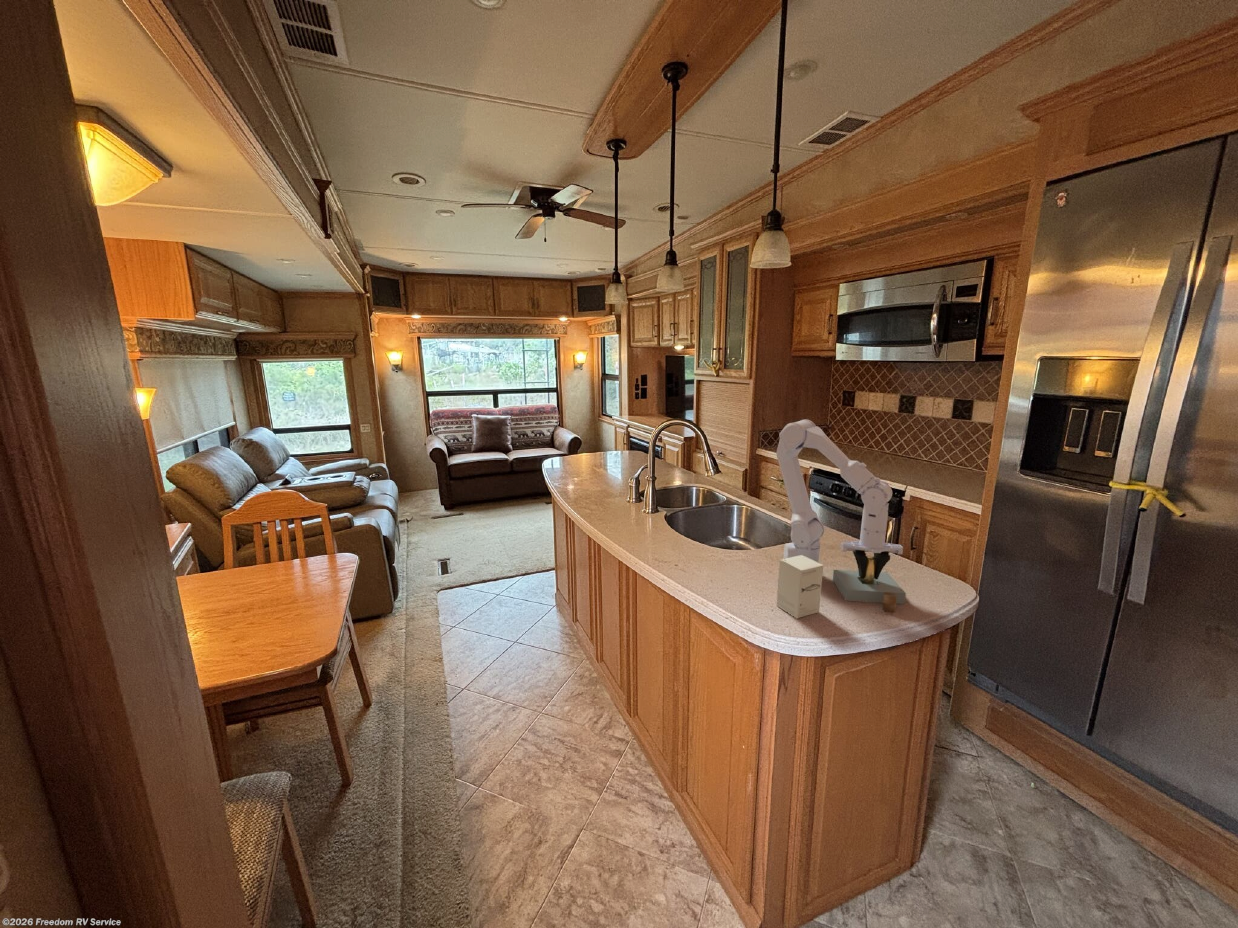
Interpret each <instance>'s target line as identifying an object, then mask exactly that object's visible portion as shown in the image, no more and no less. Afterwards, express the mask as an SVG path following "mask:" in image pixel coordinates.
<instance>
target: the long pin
mask: <svg viewBox="0 0 1238 928" xmlns="http://www.w3.org/2000/svg"><path fill="white" fill-rule="evenodd" d="M866 556H867V557H868V559H867V563H866V567H865V577H864V579H862V584H873V585H874V578H875V569H876V560H877V558H875V557H874V555H866Z"/></svg>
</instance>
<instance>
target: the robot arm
mask: <svg viewBox="0 0 1238 928" xmlns="http://www.w3.org/2000/svg"><path fill="white" fill-rule="evenodd" d="M778 435H779V436H778V437H779V440H778V441H779V442H778V445H777V448H776V458H777V461H778V464H779V465H778V466H779V469H780V472H781V476H782V480H783V484H784V487H785V491H786V495H787V497H788V502H789V506H790V510H791V513H792V515H791V519H790V523H789V524H790V528H791V531H790V539H791V541H792V542H789V543H788V542H787V543H784V546H783V547H784V548H783V558H782V559H786V558H790V557H795V556H799V555H803V556H805V557H807V558H809V559H811V560H814V561H816V562H818V563H820V553H821V542H820V538H822V537H823V535H824V534H825V527H824V524H823V523H822V521H820V519H819V517H818V513H817V512H816V511H814V510H813V508H812V504H811V501H810V497H809V494H808V490H807V487H806V483H805V482H806V481H805V480H804V479H805V478H804V476H803V475H804V474H803V471H802V468H801V463H800V461H799V457H798V455H799V454H800V452H801V451H802V449H804V448H808V449H815V450H818V452H819V453H821V454H822V455H824V456H825V457H826V458H827V459H828V460H829V461H830V462H831V463H833V464H834V466H836V467H837V468H838V469H839V472H840V477H841V478H842V479H843V480H844V481H845V482H846V483H848V485H849V486H850V487H852V488H853V489H854V490H855V491H856V492H857V493H858V494H859V495H860V496H861V497H860V499H861V502H862V503H863V504H864V505H863V510H862V518H861V525H860V526H861V527H860V536H859V540H856V541H855V540H854V541H841V542H840V543H841V544H840V550H841V551H842V552H845V553H847V552H852V554H853V555H854V558H855V561H856V565H857V568H858V570H857V571H859V576H860V578H861V579H864V577H865V567H866V563H867V559H868V557H867V556H868V555H867V553H872V554H873V557H875V558H877V560H876V569H875V579H878V577H879V575H880V573H881V572H883V568H884V567H885V566H886V565H887V564H888V562H890V560H891V555H890V554H897V555H903V554H904V553H903V552H904V547H903V546H902V545H901V544H895V543H889V542H886V536H887V535H886V534H887V526H888V518H889V512H888V511H889V505H890V503H888V502H889V501H890V500H891V499H892V497H893V490H892V487H891V486H890V485H889V483H888V482H886V481H883V480H882V479H881V478H880V477H876V476H875V475H874V474H873V473H872V472H871V471H869V470H868V469H867V468H866V467H867V466H868V465H867V464H865V462H860V461H859V460H853V459H852V460H851V459H850V458H849V457H848V456H847V455H846V454H845V453H844V452H843V451H842V450H841V449H840V448H839V447H838V446H837V445H836V444H835V442H833V441H832V440H831V439H830V438H829V437H828V436H827V435H826V433H825V432H824V430H823V429H821V427H819V426H818V425H817V426H816V424H815V423H814V422H813V421H811V420H810V419H801V420H799V421H795V422H790V423H787V424H786V425H785V426H784V427H783V429H782V430H781V431H780V432H779V434H778ZM866 552H867V553H866Z"/></svg>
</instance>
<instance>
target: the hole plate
mask: <svg viewBox="0 0 1238 928" xmlns="http://www.w3.org/2000/svg"><path fill="white" fill-rule="evenodd" d="M832 581H833V583H834V584H835V586H836V587H837V589H838V590H839V592H840V593H841V596H842V597H843V599H844V600H845V601H847V602H862V603H863V602H865V603H881V604H883V597H884V593H886V592H889V593H893V594H895V595H897V600H896V605H905V602H906V596H907V595H906V594H907V593H906V591H905V590H904V589H903V588H902V587H901V586H900V585H899V584H898V582H896V580H895V579H894V578H893V577H892V576H891V574H890V573H889V572H887V571H881V573H880V575H879V577H878V579H875V578H874V585H873V584H862V579H861V578H860V576H859V571H858V570H849V569H833V573H832Z"/></svg>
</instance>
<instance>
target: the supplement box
mask: <svg viewBox="0 0 1238 928" xmlns="http://www.w3.org/2000/svg"><path fill="white" fill-rule="evenodd" d="M778 566H779V567H778V579H777V580H778V581H777V593H776V594H777V595H776V606H777V607H778V608H780V609H781V610H783V611H784V612H786V613H787V612H788V613H787V614H789V615H790V614H791V615H790V616H792V617H793V616H794V617H793V618H795V619H799V618H802V617H806V616H809V615H813V614H816V613H819V612H820V607H821V606H820V605H821V598H822V597H821V596H822V595H821V593H822V587H823V586H822V584H823V576H824V575H823V574H824V564H822V563H820V562H819V563H818V562H816V561H814V560H811V559H809V558H807V557H805V556H803V555H799V556H795V557H790V558H786V559H783V558H782V559H779V564H778Z"/></svg>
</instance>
